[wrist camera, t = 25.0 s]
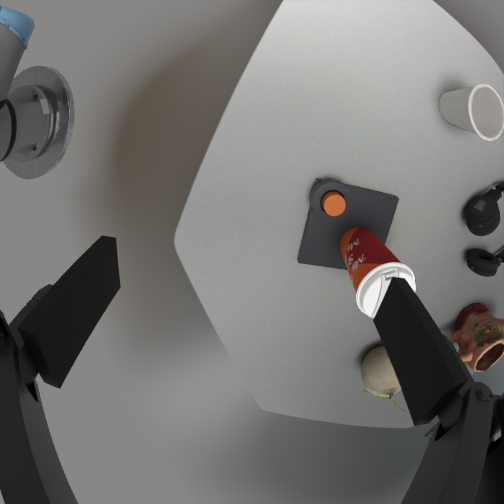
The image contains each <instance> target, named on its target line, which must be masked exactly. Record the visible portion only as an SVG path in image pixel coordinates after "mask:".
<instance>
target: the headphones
mask: <svg viewBox="0 0 504 504" xmlns="http://www.w3.org/2000/svg"><path fill="white" fill-rule="evenodd" d="M502 191H503V192H504V182H502V183H500V184H498V185H496V189H495V190H494V189H491V190H490V191H488V192H487V193H486V194H484V195H481V196H478V197H476V198H474V199H473V200H472V201H470V203H469V204H468V206H467V208H466V211H465V215H466V222H467V227H468V229H469V230H470V231H471V232H472V233H473V234H474V235H477V236H485V235H488V234H490V233H492V232H493V231H494V230H495V229H496V228H497V227H498V225H499V222H500V211H499V208H498V204H497V201H498V200H499V199H500V198H501V197H502V194H501V192H502ZM501 262H502V263H504V249H503V250H502V251H501V252H500V253H499V254H498V255H496V256H495V255H493V254H492V253H489V252H487V251H484V250H481V249H471V250H470V251H469V253H468V261H467V265H468V267H469V268H470V269H471V270H472V271H473V272H475V273H477V274H479V275H481V276H487V277H488V276H494V275H495V274H496V272H497V268H498V267H499V266H500V264H501Z"/></svg>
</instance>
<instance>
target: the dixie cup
mask: <svg viewBox="0 0 504 504" xmlns="http://www.w3.org/2000/svg"><path fill="white" fill-rule="evenodd" d="M439 109H440V113H441V115H442V117H443V118H444V119H445V120H446V121H447V122H448V123H451V124H453V125H456V126H458V127H460V128H463V129H465V130H467V131H470V132H472V133H474V134H477V135H479V136H480V137H481V138H483V139H484V140H488V141H492V140H495V139H497V138H498V137H499V136H500V135H501V133H502V131H503V128H504V106H503V103H502V101H501V98H500V97H499V95H498V93H497V92H496V91H495V90H494V89H493V88H492V87H490V86H488V85H486V84H479V85H477V86H475V87H470V88H464V89H459V90H454V91H449V92H445V93H444V94H443V95H442V96H441V98H440V101H439Z"/></svg>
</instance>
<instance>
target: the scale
mask: <svg viewBox="0 0 504 504" xmlns="http://www.w3.org/2000/svg"><path fill="white" fill-rule="evenodd" d="M332 191H334V192H337V193H339V194H340V195H341V196H342V197H343V198H344V200H345V203H346V207H345V210H344V211H343V213H342V214H340V215H338V216H331V215H328V214H327V213H326V212H325V210H324V208H323V206H322V198H323V196H324V195H325V194H326V193H328V192H332ZM398 200H399V198H398V197H396V196H393V195H389V194H385V193H381V192H377V191H373V190H369V189H364V188H360V187H356V186H351V185H347V184H343V183H342V182H340V181H338V180H333V179H327V180H323V179H318V178H316V182H315V187H314V188H313V189H312V192H311V196H310V203H311V205H310V209H309V213H308V218H307V222H306V226H305V231H304V235H303V239H302V243H301V247H300V251H299V255H298V263H302V264H310V265H317V266H324V267H331V268H338V269H346V270H348V269H347V266H346V264H345V261H344V258H343V255H342V253H341V249H340V242H341V239H342V237H343V235H344V234H345V233H346V232H347V231H348V230H350V229H352V228H354V227H364V228H366V229H368V230H369V231H371V232H372V233H373V234H374V235H375V236H376V237H377V238H378V239H379V240H380V241H381V242H382V243H383V244H385V241H386V238H387V235H388V232H389V229H390V226H391V223H392V220H393V217H394V214H395V210H396V207H397V204H398Z"/></svg>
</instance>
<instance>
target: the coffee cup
mask: <svg viewBox="0 0 504 504" xmlns="http://www.w3.org/2000/svg"><path fill="white" fill-rule="evenodd" d="M340 249H341V253H342V255H343V258H344V261H345V264H346V266H347V269H348V272H349V275H350V277H351V280H352V283H353V285H354V288H355V291H356V300H357V304H358V307H359V308H360V310H361V311H362V312H363V313H365V314H366V315H368V316H369V317H372V318H374V317H375V315H376V313H377V311H378V309H379V306H380V304H381V302H382V300H383V298H384V295H385V293H386V291H387V288H388V286H389V284H390V281H391V279H392V277H399V278H405V279H406V281H407V282H408V283H409V285H410V286H411V288H412V289H413V291H414V292H415V291H416V285H415V277H414V274H413V272H412V271H411V269H410V268H409V267H408V266H406V265H404V264H402V263H401V262H400V261H399V260H398V259H397V258H396V257H395V256H394V255H393V253H392V252H391V251H390V250H389V249H388V248H387V247H386V246H385V245H384V244H383V243H382V242H381V241H380V240H379V239H378V238H377V237H376V236H375V235H374V234H373V233H372V232H371V231H369V230H368V229H366V228H364V227H354V228H352V229H350V230H348V231H347V232H346V233H345V234H344V235H343V237H342V239H341V242H340Z"/></svg>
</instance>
